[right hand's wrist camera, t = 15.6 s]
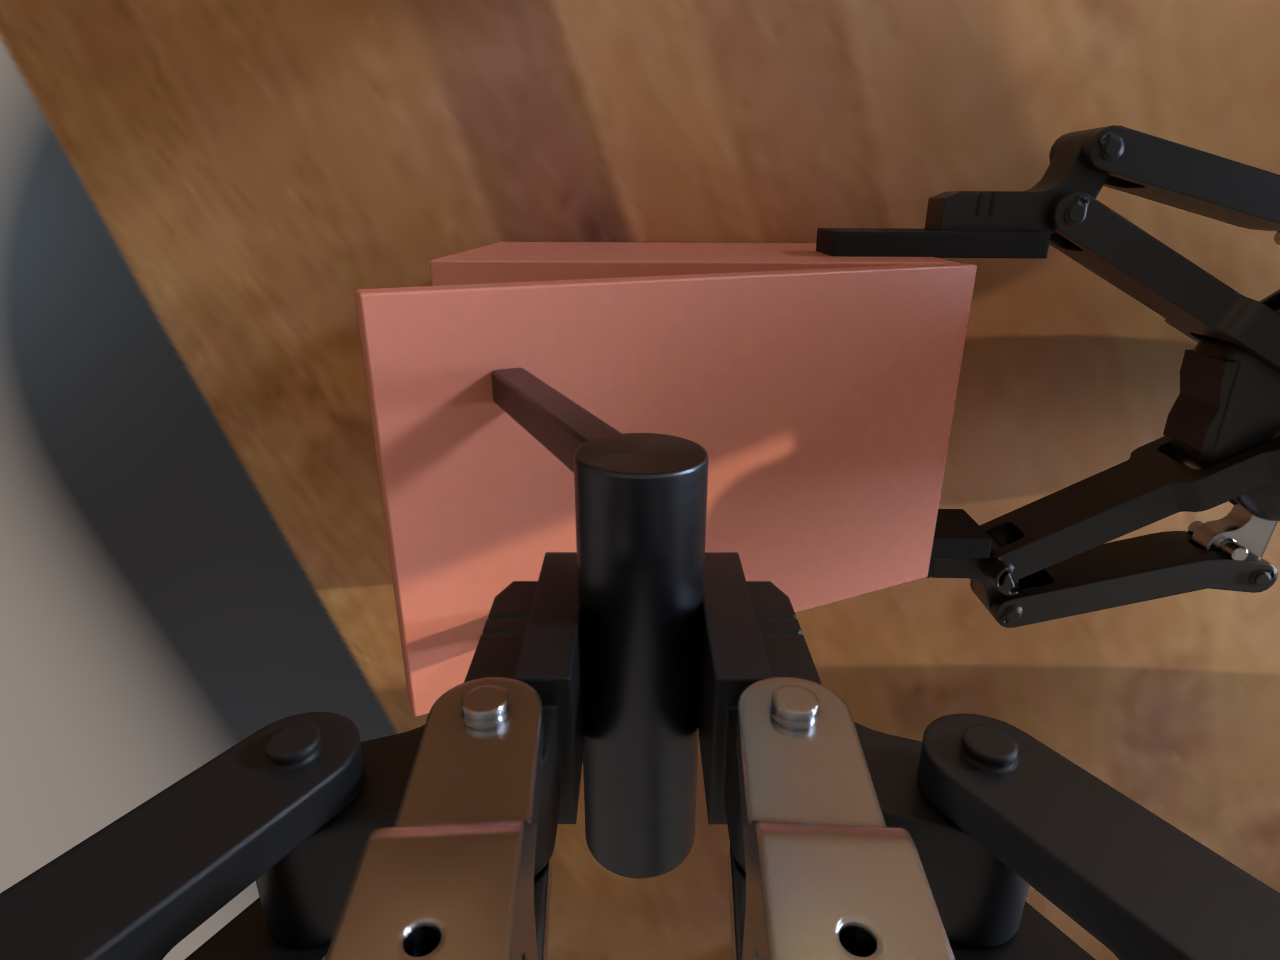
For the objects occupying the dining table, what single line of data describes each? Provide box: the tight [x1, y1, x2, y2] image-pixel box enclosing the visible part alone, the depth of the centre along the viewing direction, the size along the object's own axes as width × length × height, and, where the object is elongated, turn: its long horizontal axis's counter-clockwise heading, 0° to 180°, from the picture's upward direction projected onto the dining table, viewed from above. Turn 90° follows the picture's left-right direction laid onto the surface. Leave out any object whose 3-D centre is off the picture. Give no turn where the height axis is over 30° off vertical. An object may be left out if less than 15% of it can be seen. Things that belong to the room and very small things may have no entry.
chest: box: [430, 242, 958, 286], centre depth 27 cm, size 15×10×10 cm, turn 90°
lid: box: [355, 263, 977, 878], centre depth 16 cm, size 16×10×8 cm, turn 90°
